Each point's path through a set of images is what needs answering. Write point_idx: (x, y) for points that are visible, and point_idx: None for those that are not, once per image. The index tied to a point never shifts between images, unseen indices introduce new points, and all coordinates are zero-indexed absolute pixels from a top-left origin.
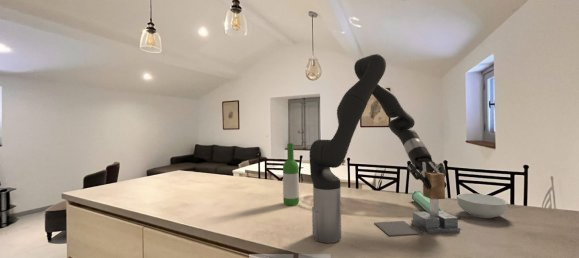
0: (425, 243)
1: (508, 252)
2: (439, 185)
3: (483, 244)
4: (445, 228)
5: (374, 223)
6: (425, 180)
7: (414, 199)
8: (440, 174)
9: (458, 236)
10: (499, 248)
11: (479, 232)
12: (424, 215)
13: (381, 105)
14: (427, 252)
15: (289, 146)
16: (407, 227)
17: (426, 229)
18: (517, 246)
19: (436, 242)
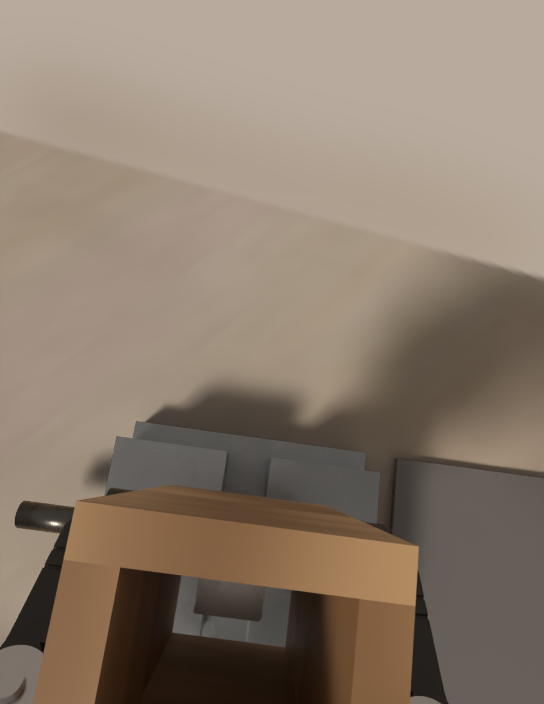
0: (458, 351)
1: (145, 170)
2: (226, 502)
3: (173, 261)
4: (237, 438)
5: None
6: (415, 652)
7: None
8: (184, 516)
9: (208, 375)
10: (142, 208)
11: (28, 388)
12: None
13: None
14: (513, 270)
15: None
16: (432, 572)
17: (363, 467)
18: (32, 200)
19: (393, 345)
